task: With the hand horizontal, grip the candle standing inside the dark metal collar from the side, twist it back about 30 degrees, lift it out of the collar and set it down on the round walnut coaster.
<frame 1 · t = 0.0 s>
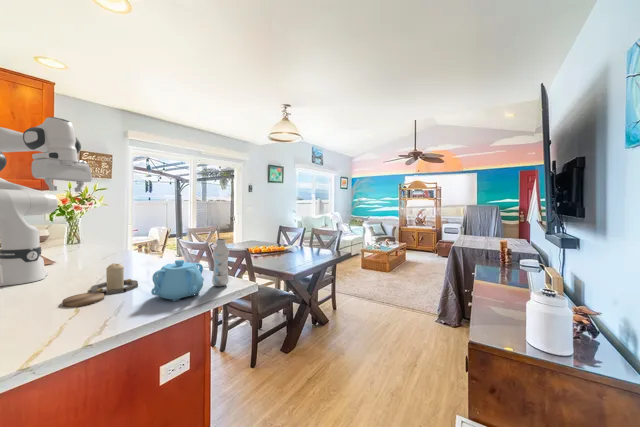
hand: (66, 191, 109), 39 cm above the counter, tool pointing down, fingers open, 8 cm apart
decorative pot: (179, 295, 101), on the counter
collar: (115, 288, 108), on the counter
candle: (115, 288, 108), resting in collar
plastic bottle: (220, 286, 114), on the counter
coaster: (84, 300, 93), on the counter
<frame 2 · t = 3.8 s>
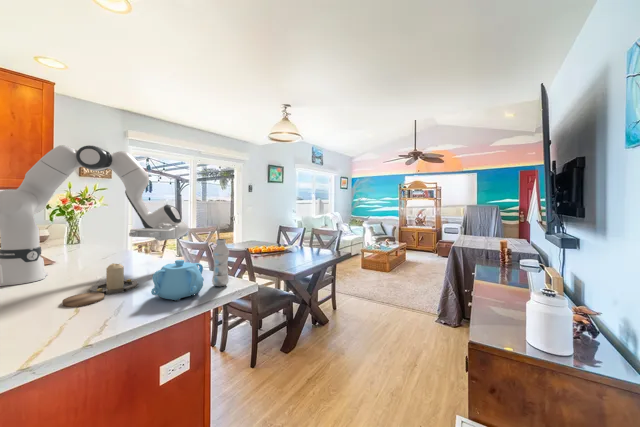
hand: (139, 234, 119), 20 cm above the counter, tool horizontal, fingers open, 8 cm apart
nothing on the counter moved.
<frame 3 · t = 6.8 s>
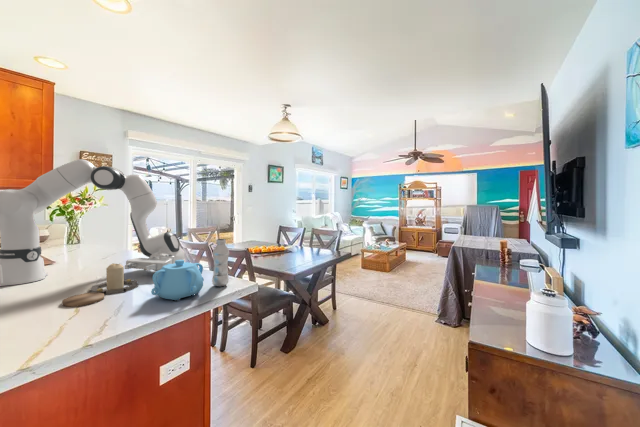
hand: (135, 268, 117), 6 cm above the counter, tool horizontal, fingers open, 8 cm apart
nothing on the counter moved.
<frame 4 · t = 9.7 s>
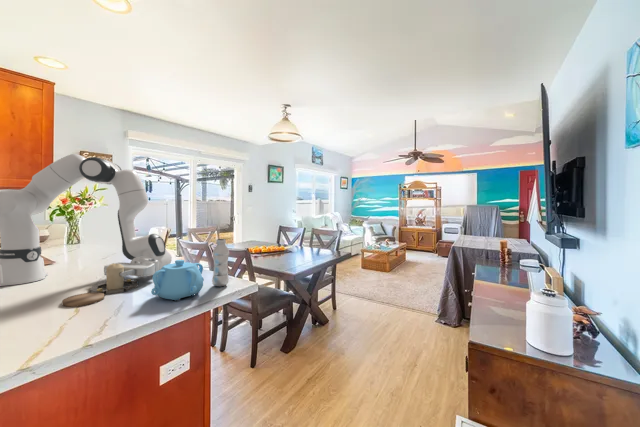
hand: (113, 274, 106), 6 cm above the counter, tool horizontal, fingers closed on candle, 5 cm apart
candle: (115, 288, 108), resting in collar, touching gripper
everything else where it was.
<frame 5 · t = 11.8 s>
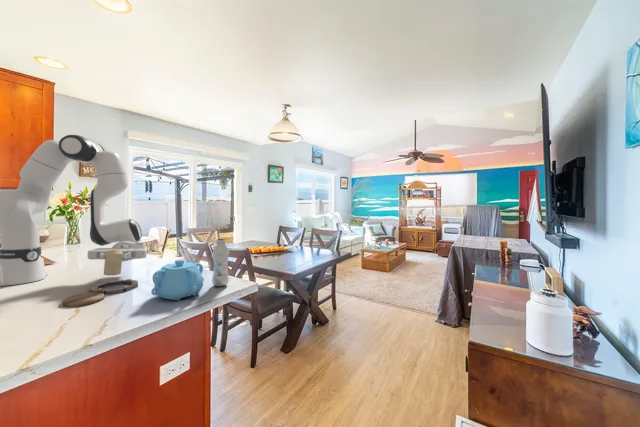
hand: (112, 257, 106), 13 cm above the counter, tool horizontal, fingers closed on candle, 5 cm apart
candle: (112, 274, 107), point 6 cm above the counter, touching gripper
everything else where it was.
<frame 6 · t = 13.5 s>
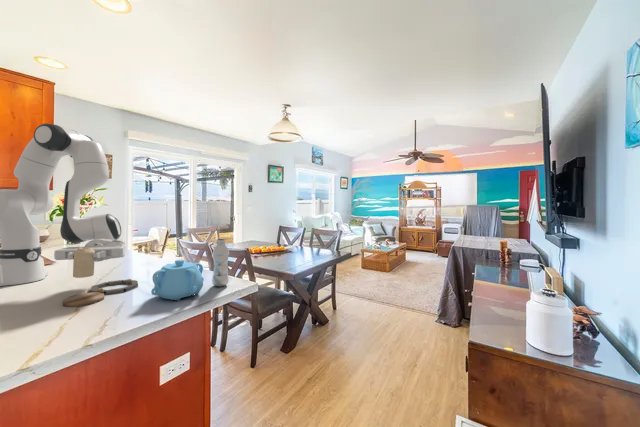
hand: (83, 256, 92), 16 cm above the counter, tool horizontal, fingers closed on candle, 5 cm apart
candle: (83, 276, 93), point 9 cm above the counter, touching gripper
everything else where it was.
when the fingers open (8 cm above the counter, at t = 15.2 s): candle stays where it is, resting on coaster.
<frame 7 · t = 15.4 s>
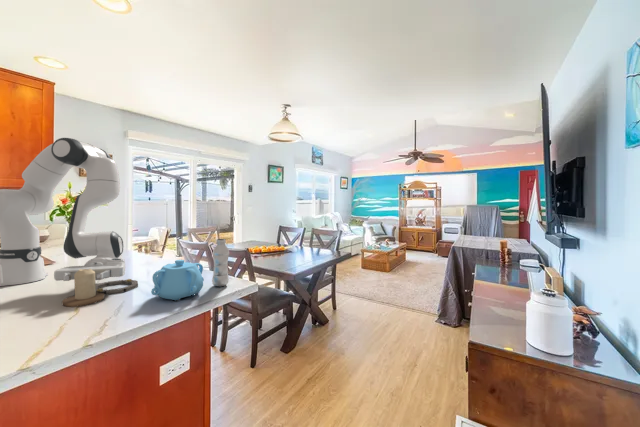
hand: (82, 277, 92), 9 cm above the counter, tool horizontal, fingers open, 8 cm apart
candle: (85, 297, 94), point 1 cm above the counter, touching coaster
everything else where it was.
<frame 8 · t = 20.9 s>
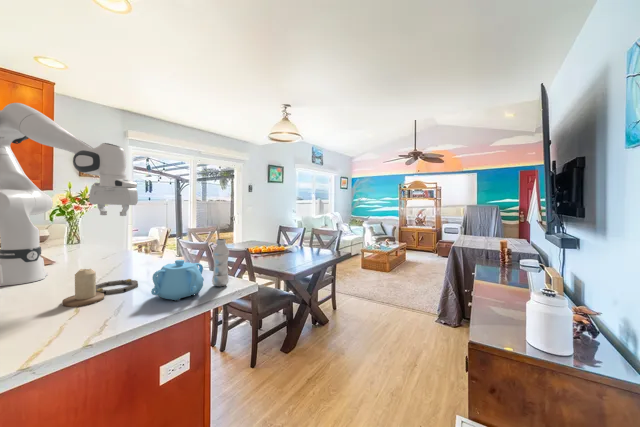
hand: (113, 215, 112), 29 cm above the counter, tool pointing down, fingers open, 8 cm apart
nothing on the counter moved.
at the end: candle 0.4 cm from the coaster (horizontally); candle point 1.0 cm above the counter; candle tilted 0° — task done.
